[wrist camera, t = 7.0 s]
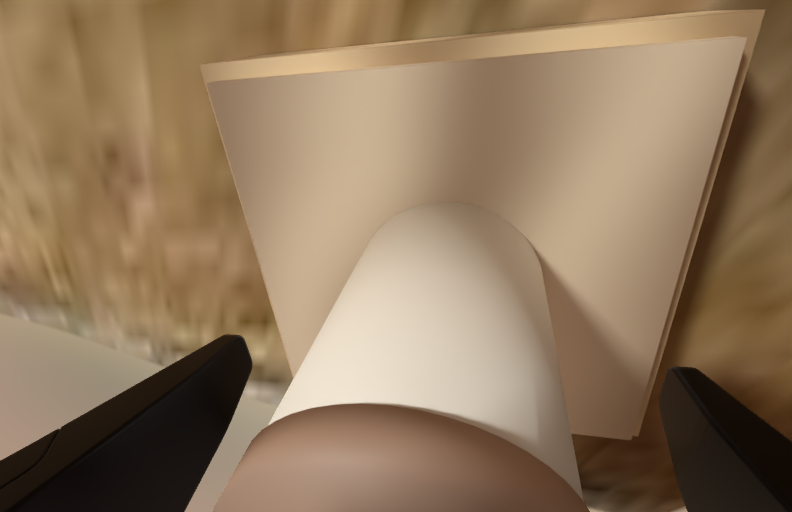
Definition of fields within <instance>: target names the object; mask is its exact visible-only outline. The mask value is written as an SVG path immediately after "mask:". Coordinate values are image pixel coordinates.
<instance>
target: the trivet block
mask: <svg viewBox="0 0 792 512" xmlns="http://www.w3.org/2000/svg"><path fill="white" fill-rule="evenodd" d="M764 13H765V9H764V10H725V11H701V12H691V13H681V14H671V15H661V16H651V17H641V18H631V19H620V20H610V21H600V22H590V23H580V24H570V25H560V26H550V27H540V28H530V29H520V30H510V31H500V32H490V33H480V34H470V35H460V36H450V37H440V38H430V39H420V40H410V41H399V42H389V43H379V44H369V45H359V46H349V47H339V48H329V49H319V50H309V51H299V52H289V53H279V54H269V55H259V56H249V57H243V58H237V59H231V60H225V61H219V62H213V63H206V64H200V69H201V72H202V75H203V79H204V82H205V85H206V89H207V92H208V95H209V99H210V102H211V105H212V109H213V112H214V115H215V119H216V122H217V125H218V129H219V132H220V135H221V139H222V142H223V145H224V149H225V152H226V156H227V159H228V162H229V166H230V169H231V172H232V176H233V179H234V182H235V186H236V189H237V192H238V196H239V199H240V202H241V206H242V209H243V212H244V216H245V219H246V222H247V226H248V229H249V232H250V236H251V239H252V242H253V246H254V249H255V252H256V256H257V259H258V262H259V266H260V269H261V272H262V276H263V279H264V283H265V286H266V289H267V293H268V296H269V299H270V303H271V306H272V309H273V313H274V316H275V319H276V323H277V326H278V329H279V333H280V336H281V339H282V343H283V346H284V349H285V353H286V356H287V359H288V363H289V366H290V369H291V373H292V376H293V379H294V377H295V375H296V374H297V372H298V370H299V368H300V366H301V364H302V363H303V361H304V359H305V357H306V355H307V354H308V352H309V350H310V348H311V346H312V344H313V343H314V341H315V339H316V337H317V335H318V333H319V332H320V330H321V328H322V326H323V324H324V323H325V321H326V319H327V317H328V315H329V313H330V312H331V310H332V308H333V306H334V304H335V303H336V301H337V299H338V297H339V295H340V293H341V292H342V290H343V288H344V286H345V284H346V283H347V281H348V279H349V277H350V275H351V273H352V272H353V270H354V268H355V266H356V264H357V263H358V261H359V259H360V257H361V255H362V253H363V252H364V250H365V248H366V246H367V244H368V243H369V241H370V239H371V238H372V236H373V235H374V234H375V232H376V231H377V230H378V229H379V228H380V227H381V226H382V225H383V224H384V223H385V222H386V221H387V220H389V219H390V218H392V217H393V216H395V215H396V214H398V213H400V212H402V211H404V210H407V209H409V208H412V207H415V206H418V205H423V204H428V203H436V202H456V203H463V204H469V205H473V206H476V207H480V208H483V209H486V210H488V211H490V212H492V213H495V214H497V215H498V216H500V217H502V218H503V219H505V220H507V221H508V222H509V223H511V224H512V225H513V226H514V227H516V228H517V229H518V230H519V231H520V232H521V233H522V234H523V235H524V236H525V237H526V239H527V240H528V241H529V243H530V244H531V246H532V247H533V249H534V251H535V253H536V255H537V257H538V259H539V262H540V265H541V269H542V274H543V280H544V285H545V291H546V296H547V302H548V307H549V313H550V318H551V324H552V329H553V335H554V340H555V346H556V351H557V357H558V362H559V368H560V373H561V379H562V384H563V390H564V395H565V401H566V406H567V412H568V417H569V423H570V428H571V434H578V435H587V436H596V437H605V438H614V439H623V440H632V436H638V435H639V432H640V429H641V425H642V422H643V419H644V415H645V412H646V408H647V405H648V402H649V398H650V395H651V392H652V388H653V385H654V382H655V378H656V375H657V372H658V368H659V365H660V362H661V358H662V355H663V351H664V348H665V345H666V341H667V338H668V335H669V331H670V328H671V325H672V321H673V318H674V315H675V311H676V308H677V305H678V301H679V298H680V294H681V291H682V288H683V284H684V281H685V278H686V274H687V271H688V268H689V264H690V261H691V258H692V254H693V251H694V248H695V244H696V241H697V237H698V234H699V231H700V227H701V224H702V221H703V217H704V214H705V211H706V207H707V204H708V201H709V197H710V194H711V191H712V187H713V184H714V180H715V177H716V174H717V170H718V167H719V164H720V160H721V157H722V154H723V150H724V147H725V144H726V140H727V137H728V134H729V130H730V127H731V123H732V120H733V117H734V113H735V110H736V107H737V103H738V100H739V97H740V93H741V90H742V87H743V83H744V80H745V77H746V73H747V70H748V66H749V63H750V60H751V56H752V53H753V50H754V46H755V43H756V40H757V36H758V33H759V30H760V26H761V23H762V20H763V16H764Z"/></svg>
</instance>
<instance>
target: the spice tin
mask: <svg viewBox="0 0 792 512" xmlns="http://www.w3.org/2000/svg"><path fill="white" fill-rule="evenodd" d="M213 512H590V511H589V510H588V508H587V506H586V505H585V503H584V500H583V494H582V489H581V483H580V478H579V472H578V467H577V461H576V456H575V450H574V445H573V439H572V434H571V428H570V423H569V417H568V412H567V406H566V401H565V395H564V390H563V384H562V379H561V373H560V368H559V362H558V357H557V351H556V346H555V340H554V335H553V329H552V324H551V318H550V313H549V307H548V302H547V296H546V291H545V285H544V280H543V274H542V269H541V265H540V262H539V259H538V257H537V255H536V253H535V251H534V249H533V247H532V246H531V244H530V243H529V241H528V240H527V239H526V237H525V236H524V235H523V234H522V233H521V232H520V231H519V230H518V229H517V228H516V227H514V226H513V225H512V224H511V223H509V222H508V221H507V220H505V219H503V218H502V217H500V216H498V215H497V214H495V213H492V212H490V211H488V210H486V209H483V208H480V207H476V206H473V205H469V204H463V203H456V202H436V203H428V204H423V205H418V206H415V207H412V208H409V209H407V210H404V211H402V212H400V213H398V214H396V215H395V216H393V217H392V218H390V219H389V220H387V221H386V222H385V223H384V224H383V225H382V226H381V227H380V228H379V229H378V230H377V231H376V232H375V234H374V235H373V236H372V238H371V239H370V241H369V243H368V244H367V246H366V248H365V250H364V252H363V253H362V255H361V257H360V259H359V261H358V263H357V264H356V266H355V268H354V270H353V272H352V273H351V275H350V277H349V279H348V281H347V283H346V284H345V286H344V288H343V290H342V292H341V293H340V295H339V297H338V299H337V301H336V303H335V304H334V306H333V308H332V310H331V312H330V313H329V315H328V317H327V319H326V321H325V323H324V324H323V326H322V328H321V330H320V332H319V333H318V335H317V337H316V339H315V341H314V343H313V344H312V346H311V348H310V350H309V352H308V354H307V355H306V357H305V359H304V361H303V363H302V364H301V366H300V368H299V370H298V372H297V374H296V375H295V377H294V379H293V381H292V383H291V384H290V386H289V388H288V390H287V392H286V394H285V395H284V397H283V399H282V401H281V403H280V404H279V406H278V408H277V410H276V412H275V414H274V415H273V417H272V419H271V421H270V423H269V424H268V426H267V427H266V428H264V429H263V430H262V431H261V432H260V433H259V434H258V435H257V436H256V437H255V438H254V439H253V440H252V442H251V443H250V445H249V447H248V448H247V450H246V452H245V454H244V455H243V457H242V459H241V461H240V462H239V464H238V466H237V468H236V470H235V472H234V473H233V475H232V477H231V478H230V480H229V482H228V484H227V485H226V487H225V489H224V491H223V492H222V494H221V496H220V498H219V499H218V501H217V503H216V505H215V507H214V510H213Z"/></svg>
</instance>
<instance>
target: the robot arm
mask: <svg viewBox="0 0 792 512" xmlns="http://www.w3.org/2000/svg"><path fill="white" fill-rule="evenodd" d="M251 370H252V359H251V356H250V353H249V350H248V348H247V345H246V342H245V339H244V338H243V337H242V336H240V335H230V334H227V335H223V336H221V337H219V338H218V339H216V340H214V341H212V342H211V343H209V344H207V345H205V346H203V347H202V348H200V349H198V350H196V351H195V352H193V353H191V354H189V355H188V356H186V357H184V358H182V359H180V360H179V361H177V362H175V363H173V364H172V365H170V366H168V367H166V368H165V369H163V370H161V371H159V372H158V373H156V374H154V375H152V376H150V377H149V378H147V379H145V380H143V381H142V382H140V383H138V384H136V385H135V386H133V387H131V388H129V389H127V390H126V391H124V392H122V393H120V394H119V395H117V396H115V397H113V398H112V399H110V400H108V401H106V402H104V403H103V404H101V405H99V406H97V407H96V408H94V409H92V410H90V411H89V412H87V413H85V414H83V415H81V416H80V417H78V418H76V419H74V420H73V421H71V422H69V423H67V424H66V425H64V426H62V427H61V429H57V430H55V431H53V432H51V433H50V434H48V435H46V436H44V437H43V438H41V439H39V440H37V441H36V442H34V443H32V444H30V445H28V446H26V447H25V448H23V449H21V450H19V451H17V452H16V453H14V454H12V455H10V456H8V457H6V458H5V459H3V460H1V461H0V512H184V511H185V510H186V508H187V506H188V504H189V502H190V500H191V498H192V496H193V494H194V492H195V491H196V489H197V487H198V485H199V483H200V481H201V479H202V477H203V475H204V473H205V471H206V470H207V468H208V466H209V464H210V462H211V460H212V458H213V456H214V454H215V453H216V451H217V449H218V447H219V445H220V443H221V441H222V439H223V437H224V435H225V433H226V431H227V429H228V426H229V424H230V422H231V420H232V417H233V415H234V412H235V410H236V408H237V405H238V403H239V400H240V398H241V395H242V393H243V390H244V388H245V385H246V383H247V381H248V378H249V376H250V373H251ZM659 408H660V412H661V417H662V421H663V425H664V429H665V433H666V437H667V441H668V445H669V449H670V453H671V457H672V461H673V465H674V469H675V473H676V477H677V481H678V485H679V488H680V491H681V494H682V497H683V500H684V503H685V506H686V509H687V511H688V512H792V441H791V440H789V439H788V438H787V437H785V436H784V435H783V434H782V433H780V432H779V431H778V430H776V429H775V428H774V427H772V426H771V425H770V424H769V423H767V422H766V421H765V420H763V419H762V418H761V417H759V416H758V415H757V414H755V413H754V412H753V411H752V410H750V409H749V408H748V407H746V406H745V405H744V404H742V403H741V402H740V401H739V400H737V399H736V398H735V397H733V396H732V395H731V394H729V393H728V392H727V391H725V390H724V389H723V388H722V387H720V386H719V385H718V384H716V383H715V382H714V381H712V380H711V379H710V378H709V377H707V376H706V375H705V374H703V373H702V372H701V371H699V370H698V369H696V368H692V367H678V366H673V367H670V368H669V369H668V371H667V374H666V377H665V380H664V383H663V386H662V389H661V393H660V396H659Z"/></svg>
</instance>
